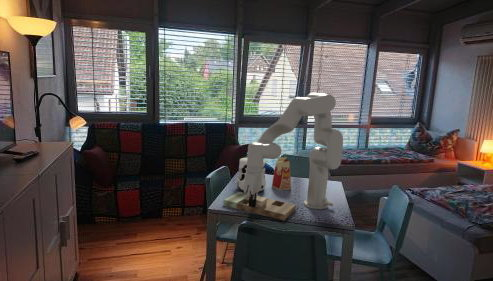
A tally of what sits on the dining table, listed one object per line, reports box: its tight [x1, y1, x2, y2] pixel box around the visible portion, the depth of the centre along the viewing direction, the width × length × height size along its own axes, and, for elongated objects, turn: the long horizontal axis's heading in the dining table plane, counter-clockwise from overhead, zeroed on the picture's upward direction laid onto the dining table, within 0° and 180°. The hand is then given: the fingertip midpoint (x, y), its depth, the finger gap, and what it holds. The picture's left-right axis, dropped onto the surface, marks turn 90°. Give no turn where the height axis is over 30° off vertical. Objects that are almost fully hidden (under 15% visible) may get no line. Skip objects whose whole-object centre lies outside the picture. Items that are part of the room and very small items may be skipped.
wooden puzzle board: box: [223, 191, 297, 221], centre depth 169 cm, size 33×16×3 cm, turn 63°
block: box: [256, 195, 267, 208], centre depth 164 cm, size 6×6×4 cm
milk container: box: [236, 157, 267, 193], centre depth 197 cm, size 17×17×18 cm
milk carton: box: [271, 156, 292, 191], centre depth 205 cm, size 9×9×20 cm
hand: (252, 206), depth 159 cm, fingers closed
